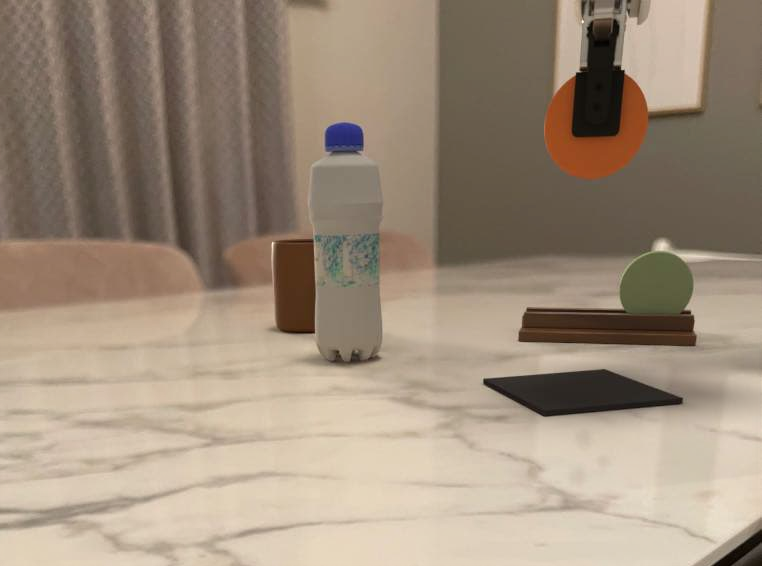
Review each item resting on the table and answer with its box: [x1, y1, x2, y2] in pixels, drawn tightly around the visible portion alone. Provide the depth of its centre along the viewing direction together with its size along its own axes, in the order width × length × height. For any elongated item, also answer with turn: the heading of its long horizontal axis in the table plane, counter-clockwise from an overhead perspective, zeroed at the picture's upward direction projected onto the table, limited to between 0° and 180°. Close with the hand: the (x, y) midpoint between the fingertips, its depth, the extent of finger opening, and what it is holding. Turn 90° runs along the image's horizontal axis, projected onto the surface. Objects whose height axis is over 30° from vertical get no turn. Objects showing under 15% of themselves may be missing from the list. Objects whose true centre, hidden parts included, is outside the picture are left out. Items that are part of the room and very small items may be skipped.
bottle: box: [307, 121, 384, 363], centre depth 76 cm, size 7×7×20 cm
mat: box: [482, 368, 684, 417], centre depth 65 cm, size 11×11×1 cm
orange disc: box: [543, 70, 649, 180], centre depth 60 cm, size 2×7×7 cm, turn 75°
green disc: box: [618, 250, 695, 314], centre depth 85 cm, size 2×7×7 cm, turn 75°
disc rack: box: [517, 306, 697, 347], centre depth 88 cm, size 9×17×2 cm, turn 75°
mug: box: [271, 238, 316, 333], centre depth 95 cm, size 12×8×9 cm, turn 81°
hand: (595, 135), depth 60 cm, fingers closed on orange disc, 1 cm apart
